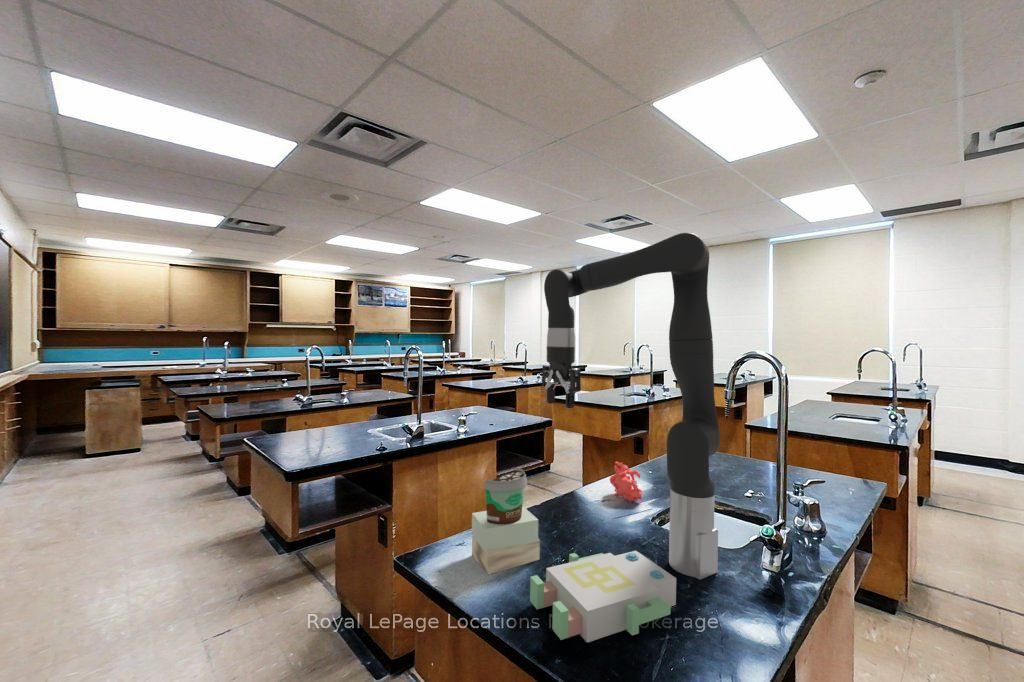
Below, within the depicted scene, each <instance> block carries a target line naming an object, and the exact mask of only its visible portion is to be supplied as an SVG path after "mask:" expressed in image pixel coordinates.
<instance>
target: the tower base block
mask: <svg viewBox="0 0 1024 682" xmlns="http://www.w3.org/2000/svg"><path fill="white" fill-rule="evenodd" d="M540 543H541V540H540V539H539V538H538V542H533V543H528V544H523V545H518V546H513V547H508V548H503V549H498V550H493V551H488V552H484V550H483V549H482V548H481V546H480V545H479V543H478V542H477V541H476V539H475V538H474V537H473V535H471V556H472V557H473V558H474V559H475V561H476V562H477V563H478V564H479V565H480V566H481V567H482V569H485V570H486V571H487V572H488V573H487V572H486V571H485V570H484V571H485V572H486V573H487V574H488V575H492V574H491V573H493V574H495V573H499V572H502V571H505V570H509V569H514V568H515V567H519V566H522V565H526V564H529V563H533V562H536V561H539V560H540V554H541V553H540V550H541V549H540V545H541V544H540Z"/></svg>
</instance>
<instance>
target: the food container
mask: <svg viewBox="0 0 1024 682" xmlns="http://www.w3.org/2000/svg"><path fill="white" fill-rule="evenodd" d="M527 478H528V477H527V474H526V472H525V470H524V469H522V468H519V467H517V466H516V467H515V470H514V471H512V472H510V473H505V474H502V475H500V476H498V477H496V478H495V479H493V480H491V479H487V478H485V479H484V483H483V490H485V503H486V507H485V508H486V511H487V522H488V523H492V524H503V525H505V524H512V523H515V522H517V521H519V520H520V519H521V514H522V506H523V504H524V503H523V502H524V492H525V491H524V490H525V487H526V486H527V484H528V479H527Z"/></svg>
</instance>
